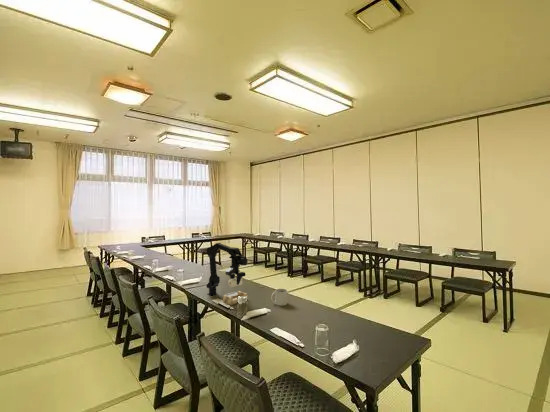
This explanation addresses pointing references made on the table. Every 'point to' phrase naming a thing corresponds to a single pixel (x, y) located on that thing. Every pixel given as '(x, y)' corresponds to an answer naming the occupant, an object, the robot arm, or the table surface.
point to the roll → (234, 282)
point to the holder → (233, 298)
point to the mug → (280, 297)
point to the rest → (231, 294)
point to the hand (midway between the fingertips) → (235, 284)
